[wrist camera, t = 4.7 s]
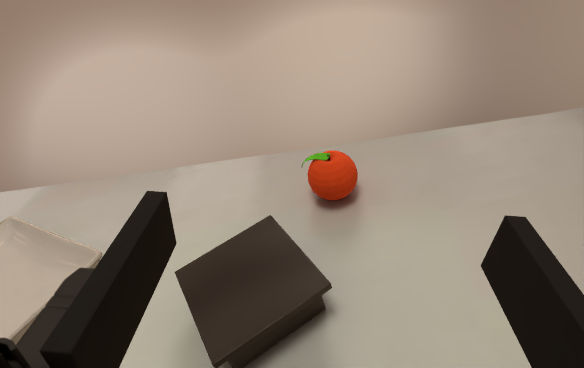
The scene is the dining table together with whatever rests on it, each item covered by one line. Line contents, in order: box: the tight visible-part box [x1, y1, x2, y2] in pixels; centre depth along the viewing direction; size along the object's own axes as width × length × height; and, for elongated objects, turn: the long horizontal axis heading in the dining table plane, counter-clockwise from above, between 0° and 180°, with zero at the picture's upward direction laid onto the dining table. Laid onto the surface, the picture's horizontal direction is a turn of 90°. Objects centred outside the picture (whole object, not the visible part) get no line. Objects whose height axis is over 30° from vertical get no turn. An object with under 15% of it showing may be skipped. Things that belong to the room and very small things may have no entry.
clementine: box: [302, 151, 357, 200], centre depth 50 cm, size 8×7×7 cm
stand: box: [175, 215, 332, 368], centre depth 40 cm, size 13×13×5 cm
